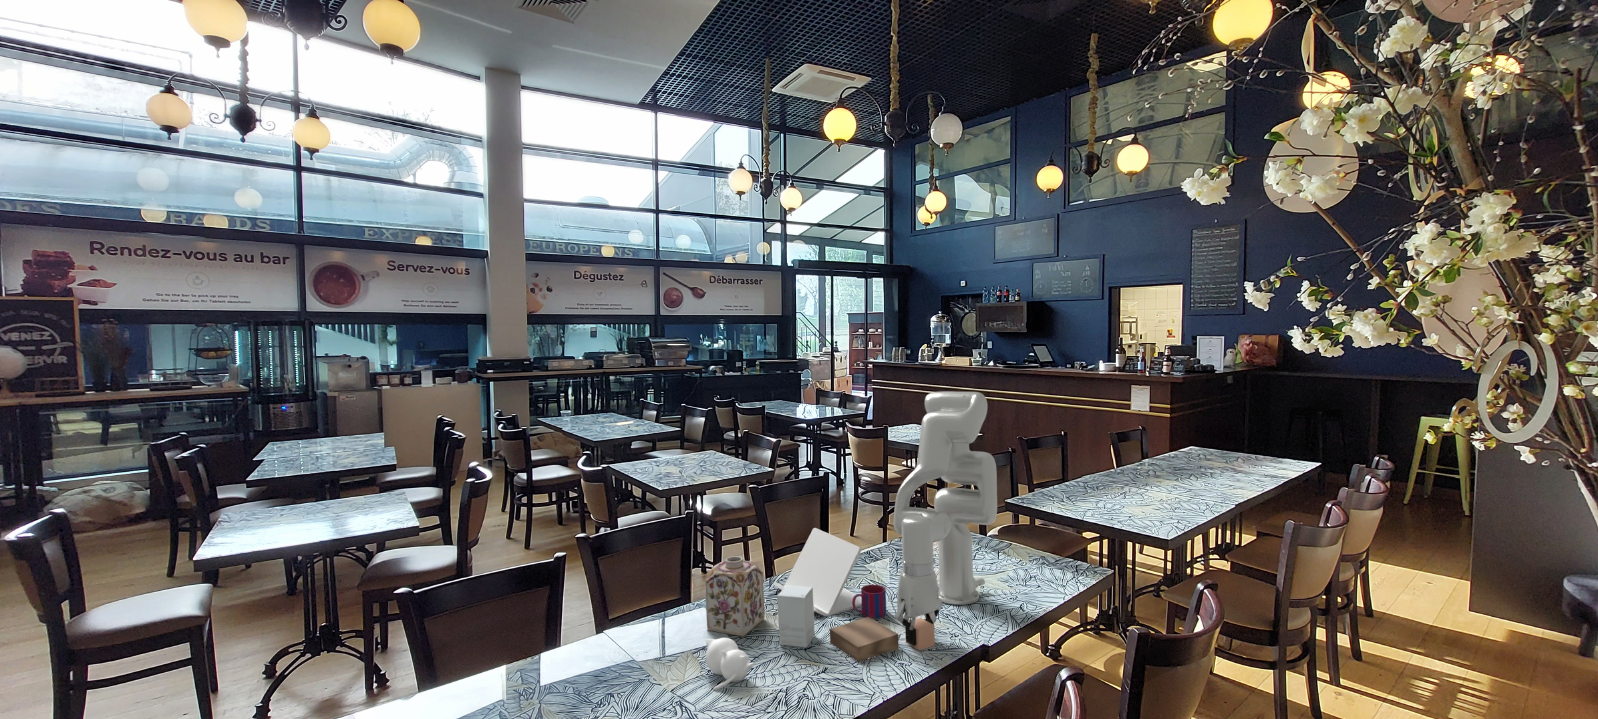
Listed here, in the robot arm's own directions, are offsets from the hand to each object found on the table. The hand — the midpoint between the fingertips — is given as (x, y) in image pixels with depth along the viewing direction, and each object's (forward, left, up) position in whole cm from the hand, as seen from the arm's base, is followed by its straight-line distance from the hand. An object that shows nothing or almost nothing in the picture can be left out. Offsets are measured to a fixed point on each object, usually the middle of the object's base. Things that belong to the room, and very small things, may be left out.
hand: (920, 639), depth 160 cm
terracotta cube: (0, 0, -1) cm, 1 cm away
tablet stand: (+4, -39, -1) cm, 39 cm away
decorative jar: (+33, -36, -1) cm, 49 cm away
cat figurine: (+47, -12, -1) cm, 49 cm away
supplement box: (+24, -19, -1) cm, 31 cm away
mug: (0, -21, -1) cm, 21 cm away
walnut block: (+12, -7, -1) cm, 14 cm away
